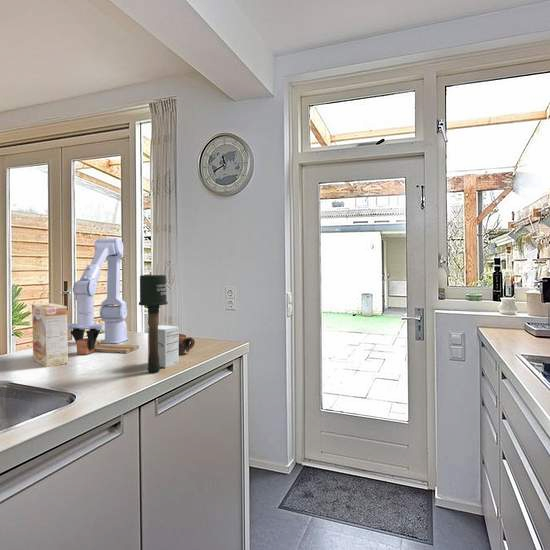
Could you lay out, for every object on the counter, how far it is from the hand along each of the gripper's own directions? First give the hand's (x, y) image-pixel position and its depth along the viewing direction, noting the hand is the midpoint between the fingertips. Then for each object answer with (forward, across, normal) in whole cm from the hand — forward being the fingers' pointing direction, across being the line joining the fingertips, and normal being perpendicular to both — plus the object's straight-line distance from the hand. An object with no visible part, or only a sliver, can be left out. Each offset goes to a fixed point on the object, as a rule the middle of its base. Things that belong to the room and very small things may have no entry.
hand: (85, 348), depth 154 cm
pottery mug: (+2, +34, +7) cm, 35 cm away
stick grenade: (+2, +37, -20) cm, 42 cm away
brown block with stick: (+1, 0, +3) cm, 3 cm away
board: (+2, +6, +8) cm, 10 cm away
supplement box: (+2, +36, -10) cm, 37 cm away
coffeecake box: (+2, -4, -14) cm, 14 cm away
